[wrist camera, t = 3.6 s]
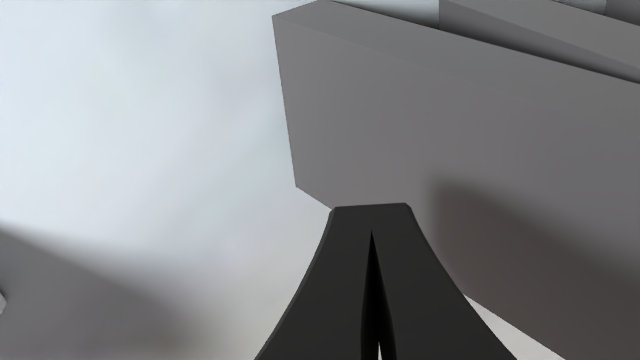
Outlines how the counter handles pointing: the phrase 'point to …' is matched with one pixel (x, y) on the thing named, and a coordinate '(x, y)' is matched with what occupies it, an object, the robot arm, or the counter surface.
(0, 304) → the medicine box
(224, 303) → the counter surface
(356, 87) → the domino
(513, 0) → the domino
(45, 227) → the counter surface
